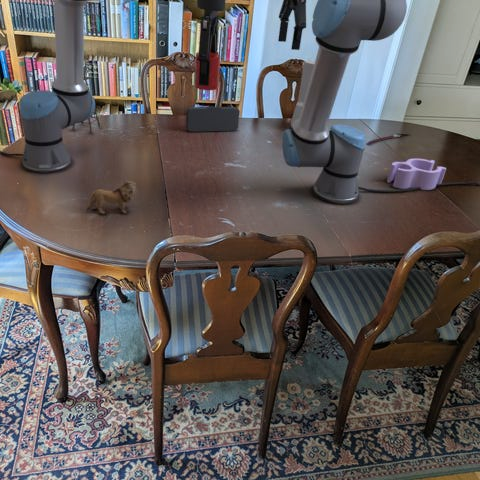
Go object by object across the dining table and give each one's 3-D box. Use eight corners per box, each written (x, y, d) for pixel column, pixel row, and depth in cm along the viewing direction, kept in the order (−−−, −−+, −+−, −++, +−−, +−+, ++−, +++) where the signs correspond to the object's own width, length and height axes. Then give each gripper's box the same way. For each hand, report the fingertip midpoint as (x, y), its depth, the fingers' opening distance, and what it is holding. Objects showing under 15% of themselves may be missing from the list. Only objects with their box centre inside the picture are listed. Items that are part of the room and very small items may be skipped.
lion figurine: (135, 203, 142) (134, 176, 137) (138, 212, 138) (137, 185, 133) (85, 208, 137) (82, 180, 132) (86, 217, 133) (83, 189, 128)
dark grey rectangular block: (236, 128, 206) (238, 106, 201) (238, 130, 204) (240, 108, 199) (185, 129, 199) (186, 106, 194) (186, 132, 197) (187, 108, 192)
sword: (406, 132, 223) (406, 130, 222) (411, 134, 221) (412, 132, 220) (362, 144, 207) (363, 141, 206) (368, 146, 205) (368, 143, 204)
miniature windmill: (91, 133, 186) (84, 54, 169) (71, 130, 187) (62, 51, 170) (101, 126, 193) (95, 50, 177) (82, 123, 194) (75, 47, 178)
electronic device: (303, 134, 208) (315, 64, 192) (289, 129, 211) (299, 60, 195) (315, 127, 218) (327, 60, 201) (300, 123, 221) (312, 56, 204)
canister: (222, 87, 137) (225, 55, 132) (208, 91, 132) (210, 58, 127) (204, 82, 140) (206, 50, 135) (189, 86, 135) (190, 53, 130)
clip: (400, 192, 166) (405, 174, 163) (380, 176, 176) (385, 159, 172) (445, 188, 173) (451, 171, 169) (424, 174, 182) (429, 157, 179)
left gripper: (218, -2, 114) (212, 92, 127) (232, -9, 131) (225, 75, 143) (188, -6, 115) (185, 88, 127) (205, -12, 131) (201, 72, 144)
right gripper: (275, -28, 162) (267, 37, 173) (301, -21, 142) (290, 52, 153) (295, -26, 164) (286, 38, 175) (323, -19, 144) (311, 53, 155)
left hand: (206, 81), depth 135 cm, fingers closed on canister, 7 cm apart
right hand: (288, 45), depth 164 cm, fingers open, 13 cm apart
